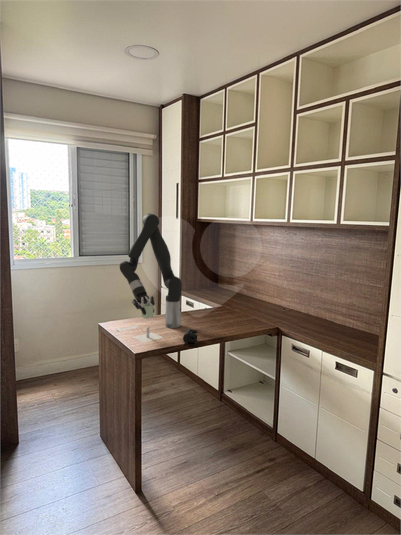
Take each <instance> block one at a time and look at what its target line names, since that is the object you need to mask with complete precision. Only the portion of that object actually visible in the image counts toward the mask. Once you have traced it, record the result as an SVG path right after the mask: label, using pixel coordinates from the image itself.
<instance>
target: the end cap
mask: <svg viewBox="0 0 401 535" xmlns="http://www.w3.org/2000/svg"><path fill="white" fill-rule="evenodd" d="M182 341H183V343H185V344H186V345H188V346H196V345H197V341H198V330H197V329H192V328H188V329H186V330H185V332H184V335H183V336H182Z"/></svg>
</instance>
